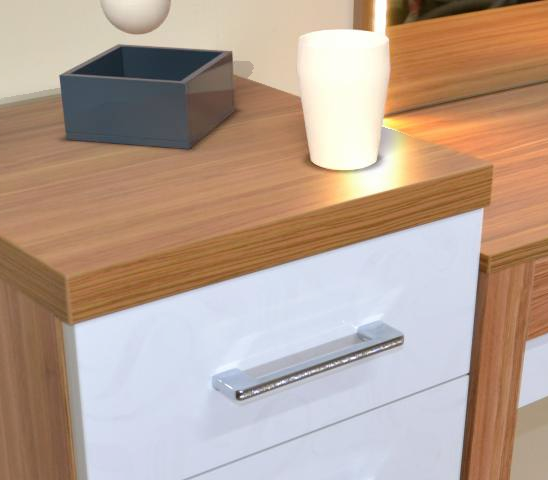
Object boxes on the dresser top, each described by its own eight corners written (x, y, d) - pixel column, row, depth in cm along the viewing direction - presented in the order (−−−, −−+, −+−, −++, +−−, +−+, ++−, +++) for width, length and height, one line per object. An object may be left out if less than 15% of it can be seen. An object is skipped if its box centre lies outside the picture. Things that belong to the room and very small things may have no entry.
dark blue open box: (189, 149, 117) (184, 83, 114) (66, 139, 120) (58, 75, 117) (235, 111, 130) (232, 50, 127) (123, 103, 133) (118, 44, 130)
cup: (357, 181, 109) (358, 54, 104) (280, 164, 113) (277, 42, 108) (405, 156, 116) (408, 36, 110) (331, 141, 120) (330, 25, 115)
